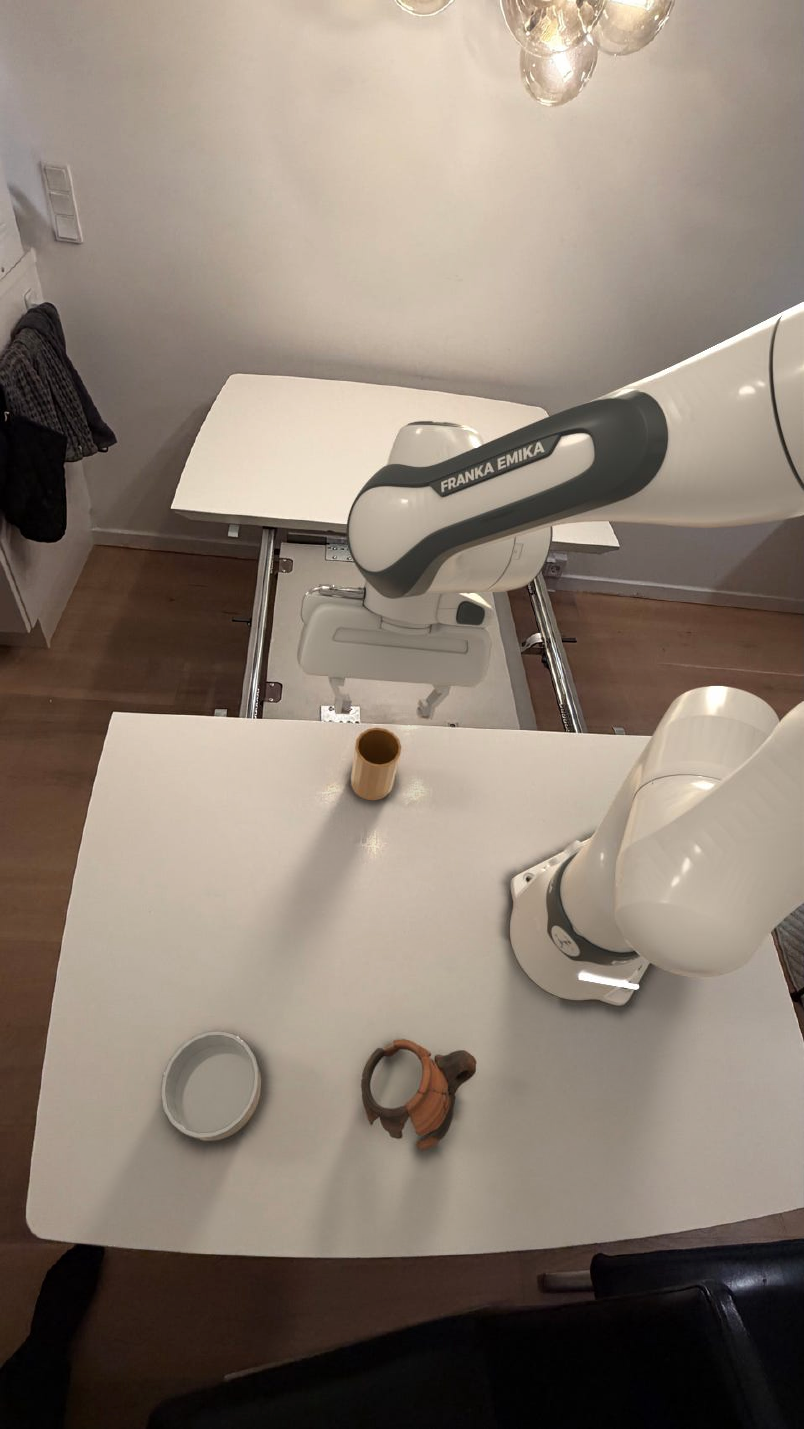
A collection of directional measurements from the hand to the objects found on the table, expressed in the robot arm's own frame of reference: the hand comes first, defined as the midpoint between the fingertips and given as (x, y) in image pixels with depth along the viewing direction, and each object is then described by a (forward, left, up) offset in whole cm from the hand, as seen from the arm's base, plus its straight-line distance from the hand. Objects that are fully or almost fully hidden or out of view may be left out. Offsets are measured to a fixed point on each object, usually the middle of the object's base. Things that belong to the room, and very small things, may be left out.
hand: (383, 714), depth 73 cm
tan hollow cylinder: (-2, -2, -20) cm, 20 cm away
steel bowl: (+33, +17, -20) cm, 42 cm away
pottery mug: (+17, +30, -20) cm, 40 cm away
